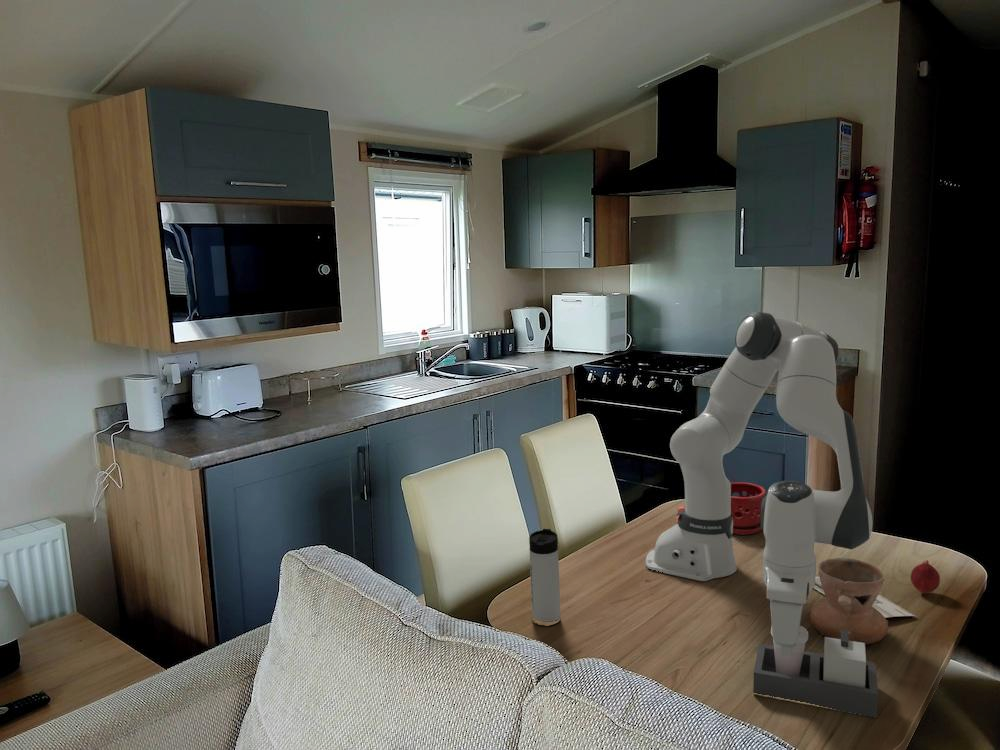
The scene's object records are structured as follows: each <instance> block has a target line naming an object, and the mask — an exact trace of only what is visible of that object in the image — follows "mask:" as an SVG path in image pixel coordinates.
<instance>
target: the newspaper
mask: <svg viewBox="0 0 1000 750" xmlns="http://www.w3.org/2000/svg"><path fill="white" fill-rule="evenodd" d="M812 589H814V590H817V591H818V592H819V593H821V594H823V595H824V596H826V595H825V593H824V591H823V588H822V585H821V581H820V577H819V575H818V576H815V586H814V587H813V588H812ZM872 607H874V608H875V609H877V610H878V611H879V612H880V613H881V614H882V615H883V616H884V617H885V619H886V618H894V617H911V618H913V619H918V616H916V615H914V613H911V612H910V611H908V610H907V609H905V608H903V607H902V606H900V605H898V604H897V603H896V602H895V603H894V602H893V601H891V600H890V599H888V598H887V597H885V596H883V595H881V593H879V594H878V596H877V598H876V600H875V602H874V603H873V605H872ZM886 621H887V624H888V623H889V621H888V620H887V619H886Z"/></svg>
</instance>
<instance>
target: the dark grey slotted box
mask: <svg viewBox="0 0 1000 750" xmlns="http://www.w3.org/2000/svg"><path fill="white" fill-rule="evenodd" d="M823 645H824V647H823V648H824V649H823V651H824V652H823V653H817V652H811V651H807V650H804V653H803V658H802V663H801V669H800V674H799V677H798V676H793V675H787V674H781V673H776V663H775V653H774V645H769V644H763V643H758V647H757V652H756V656H755V657H756V658H755V662H754V668H753V693H757V694H762V695H769V696H772V697H773V696H774V697H780V698H784V699H790V700H795V701H800V702H806V703H810V704H815V705H819V706H823V707H828V708H832V709H836V710H840V711H845V712H849V713H848V714H851V713H856V714H861V715H864V716H863V717H866V716H869V717H868V718H872V717H873V719H878V705H879V704H878V703H879V702H878V701H879V699H878V698H879V691H878V680H877V670H876V669H877V668H876V662H872V661H867V656H866V644H865V643H861V642H855V641H848V630H842V629H841V639H835V638H829V637H826V636H824V644H823ZM840 711H839V712H840ZM845 712H844V713H845ZM850 712H851V713H850ZM856 714H855V715H856ZM861 715H860V716H861Z"/></svg>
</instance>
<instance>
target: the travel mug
mask: <svg viewBox="0 0 1000 750" xmlns="http://www.w3.org/2000/svg"><path fill="white" fill-rule="evenodd" d="M528 539H529V541H528V543H529V567H530V568H529V569H530V574H529V575H530V596H531V616H532V617H533V618H534V619H536V620H538V621H542V622H553V621H557V620H558V619H559V618H560V619H561V599H560V597H561V595H560V592H561V591H560V570H559V569H560V566H559V565H560V563H559V546H558V544H559V543H558V542H559V541H558V539H559V538H558V534H557V533H556V532H555V531H553V530H552V529H551V528H543V529H541V530H537V531H534V532H532V533H531V534H530V535H529V537H528ZM532 617H531V618H532Z"/></svg>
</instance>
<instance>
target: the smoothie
mask: <svg viewBox="0 0 1000 750" xmlns="http://www.w3.org/2000/svg"><path fill="white" fill-rule="evenodd" d="M770 627H771V628H770V634H771V636H772V637H773V633H772V626H770ZM808 640H809V631H808V630H807V629H806V627H805V626H802V625H801V624H800V628H799V634H798V640H797V644H796V646H794V647H792V655H791V656H790V657H788V656H783V655H781V645H778V644H776V643H775V642H774V639H773V638H772V641H773V646H774V653H775V663H776V673H781V674H787V675H793V676H798V677H799V674H800V669H801V663H802V658H803V653H804V651H805V648H806V642H808Z"/></svg>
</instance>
